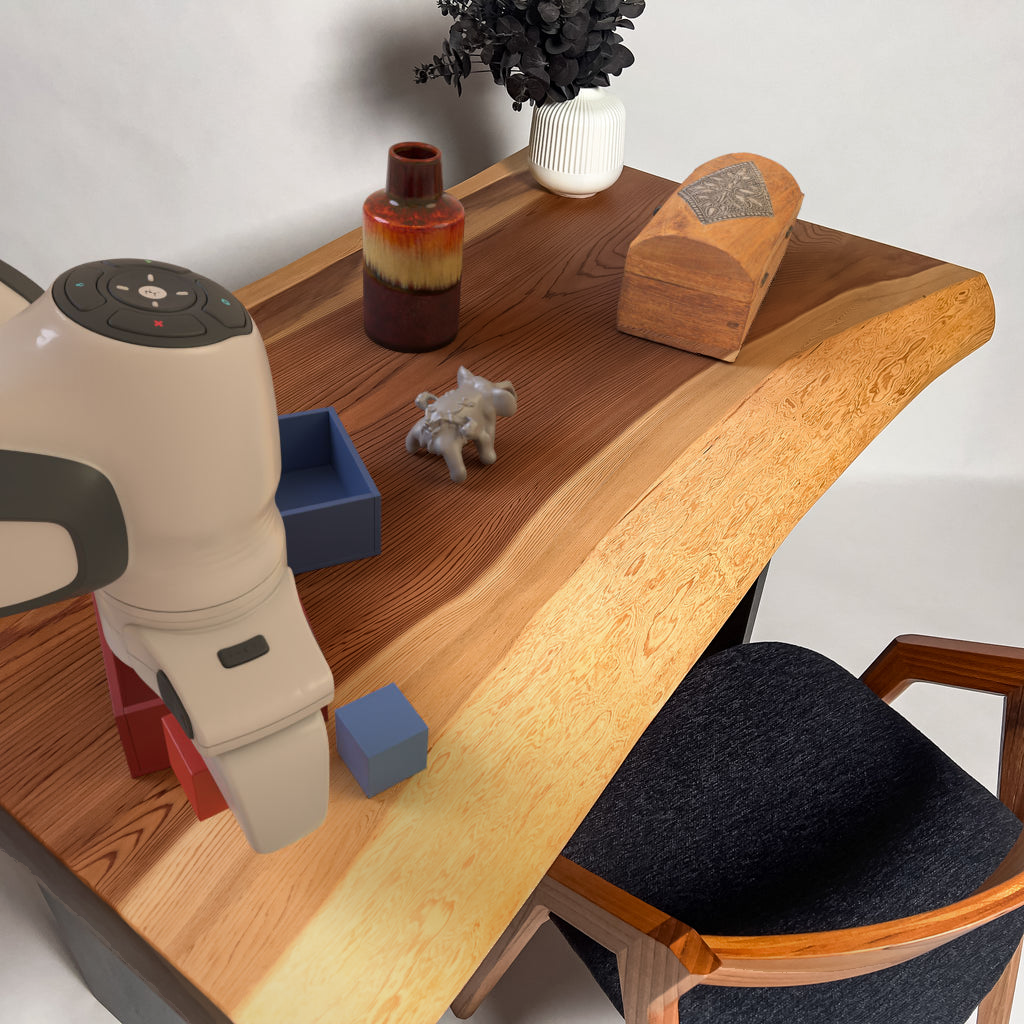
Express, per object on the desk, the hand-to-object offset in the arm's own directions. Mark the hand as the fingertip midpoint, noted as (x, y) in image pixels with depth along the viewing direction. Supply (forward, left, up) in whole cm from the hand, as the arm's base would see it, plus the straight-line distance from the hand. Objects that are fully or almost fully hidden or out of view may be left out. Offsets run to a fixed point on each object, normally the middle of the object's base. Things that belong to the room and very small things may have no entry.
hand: (220, 759), depth 55 cm
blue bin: (+10, +28, -8) cm, 31 cm away
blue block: (+10, +2, -8) cm, 13 cm away
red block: (0, 0, -2) cm, 2 cm away
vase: (+32, +56, -8) cm, 65 cm away
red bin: (+1, +13, -8) cm, 15 cm away
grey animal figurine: (+29, +33, -8) cm, 45 cm away
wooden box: (+71, +54, -8) cm, 89 cm away
